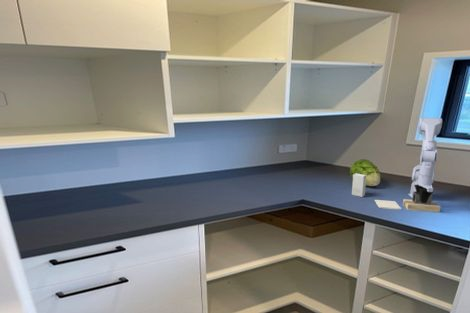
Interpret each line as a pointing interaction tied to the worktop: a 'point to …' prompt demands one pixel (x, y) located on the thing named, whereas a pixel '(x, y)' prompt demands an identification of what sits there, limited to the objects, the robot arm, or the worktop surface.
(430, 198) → the grey notched block
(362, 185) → the skincare box
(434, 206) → the body
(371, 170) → the lettuce
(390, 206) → the tile
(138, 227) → the worktop surface
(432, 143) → the robot arm
